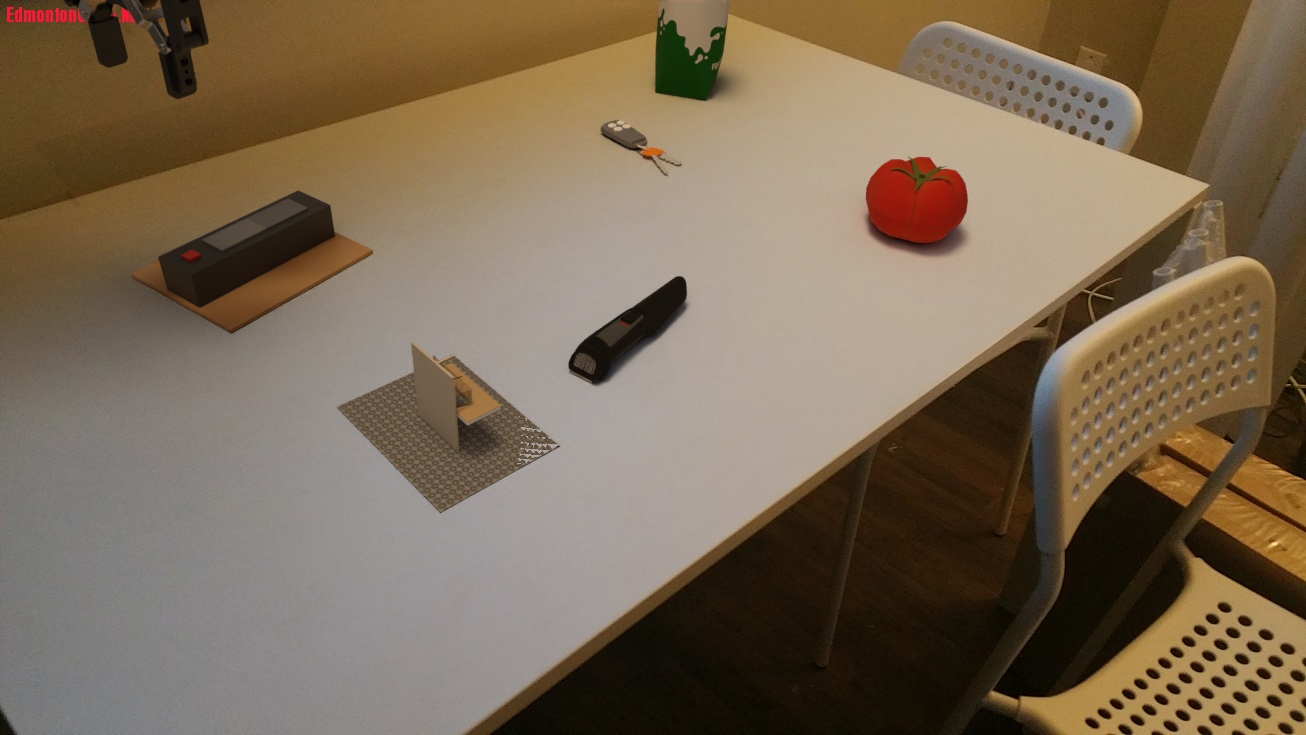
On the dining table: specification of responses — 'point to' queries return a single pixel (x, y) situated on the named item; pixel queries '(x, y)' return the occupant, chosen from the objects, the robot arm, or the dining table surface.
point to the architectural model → (445, 429)
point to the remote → (246, 248)
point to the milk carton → (689, 46)
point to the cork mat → (267, 283)
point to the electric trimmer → (627, 330)
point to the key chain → (635, 141)
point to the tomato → (916, 199)
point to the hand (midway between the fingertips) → (148, 79)
